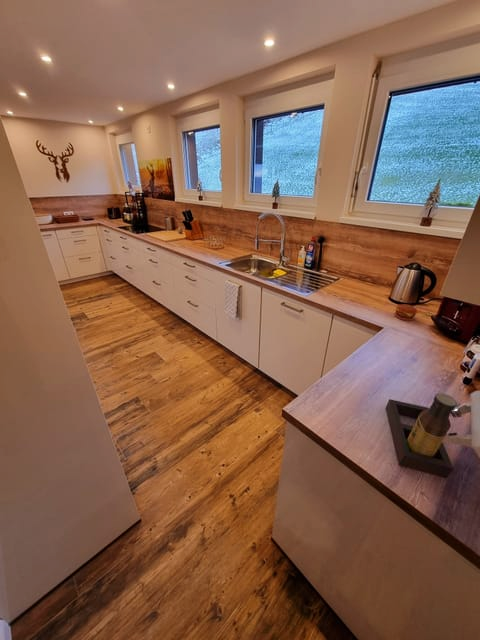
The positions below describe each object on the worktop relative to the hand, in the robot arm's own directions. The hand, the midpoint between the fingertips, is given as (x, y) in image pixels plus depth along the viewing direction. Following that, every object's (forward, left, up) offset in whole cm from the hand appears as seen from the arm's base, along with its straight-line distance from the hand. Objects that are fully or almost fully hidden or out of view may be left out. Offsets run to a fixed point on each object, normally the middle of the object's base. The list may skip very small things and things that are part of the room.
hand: (450, 425), depth 62 cm
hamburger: (-12, -87, -13) cm, 89 cm away
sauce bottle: (+3, -1, -13) cm, 13 cm away
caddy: (+3, -5, -13) cm, 14 cm away
